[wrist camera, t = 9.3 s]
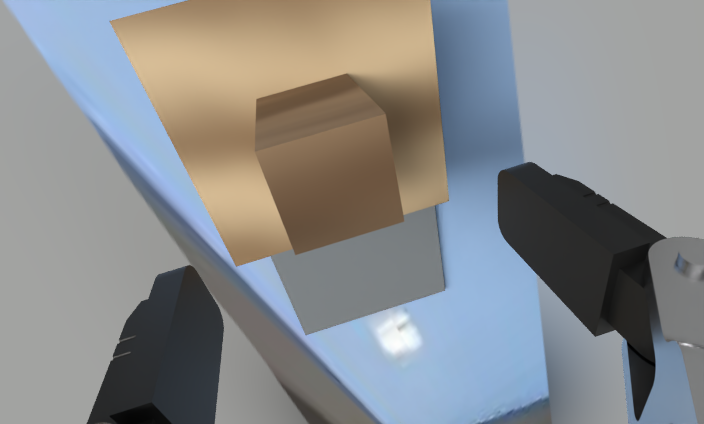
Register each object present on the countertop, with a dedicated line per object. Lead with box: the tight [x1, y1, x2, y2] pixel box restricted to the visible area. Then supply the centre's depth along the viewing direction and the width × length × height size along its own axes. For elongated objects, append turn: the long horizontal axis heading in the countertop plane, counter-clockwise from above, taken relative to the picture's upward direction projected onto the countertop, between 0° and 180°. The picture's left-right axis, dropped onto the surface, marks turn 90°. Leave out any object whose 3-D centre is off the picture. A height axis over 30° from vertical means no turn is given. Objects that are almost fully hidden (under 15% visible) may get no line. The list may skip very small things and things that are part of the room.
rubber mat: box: [271, 205, 445, 335], centre depth 33 cm, size 14×14×1 cm
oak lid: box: [110, 0, 449, 266], centre depth 15 cm, size 12×12×7 cm
